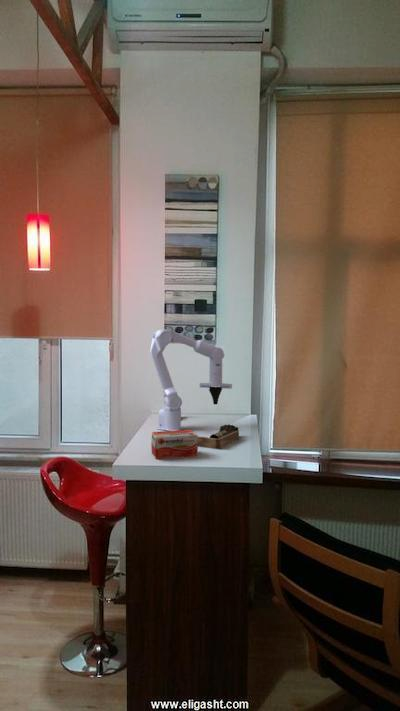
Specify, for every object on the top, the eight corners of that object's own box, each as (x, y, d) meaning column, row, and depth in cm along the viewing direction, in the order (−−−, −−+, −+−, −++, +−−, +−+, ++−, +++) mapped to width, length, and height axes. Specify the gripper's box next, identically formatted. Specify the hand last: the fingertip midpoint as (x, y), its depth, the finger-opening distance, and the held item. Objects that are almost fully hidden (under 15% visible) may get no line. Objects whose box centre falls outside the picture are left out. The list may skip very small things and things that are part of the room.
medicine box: (155, 459, 167) (155, 436, 166) (151, 453, 175) (151, 431, 174) (198, 456, 171) (198, 434, 171) (191, 451, 179) (192, 429, 178)
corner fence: (188, 444, 187) (188, 435, 187) (209, 435, 203) (209, 427, 203) (218, 449, 181) (219, 439, 181) (238, 439, 196) (238, 430, 196)
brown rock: (220, 446, 186) (219, 432, 186) (204, 444, 190) (204, 430, 190) (241, 437, 201) (241, 423, 201) (227, 435, 205) (227, 422, 204)
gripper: (197, 374, 217) (197, 404, 218) (230, 375, 213) (229, 406, 214) (201, 372, 224) (201, 402, 225) (233, 373, 220) (232, 403, 221)
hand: (215, 404), depth 220 cm, fingers closed
